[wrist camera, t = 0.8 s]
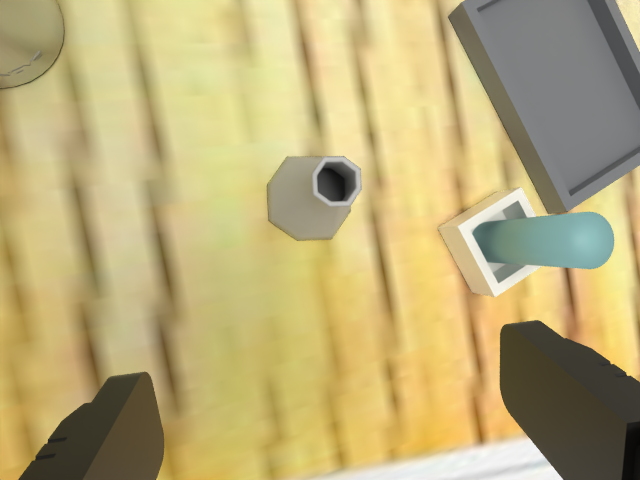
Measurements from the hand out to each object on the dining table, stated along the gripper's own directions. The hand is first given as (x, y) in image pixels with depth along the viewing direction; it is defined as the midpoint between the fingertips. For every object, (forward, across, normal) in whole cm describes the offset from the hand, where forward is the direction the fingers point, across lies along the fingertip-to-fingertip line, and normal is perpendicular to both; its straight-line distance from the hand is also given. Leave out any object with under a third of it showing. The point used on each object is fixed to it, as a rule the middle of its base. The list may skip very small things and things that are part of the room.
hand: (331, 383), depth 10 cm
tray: (+32, -26, -7) cm, 42 cm away
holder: (+28, -17, +6) cm, 33 cm away
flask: (+27, -1, 0) cm, 27 cm away
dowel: (+27, -17, +6) cm, 32 cm away
